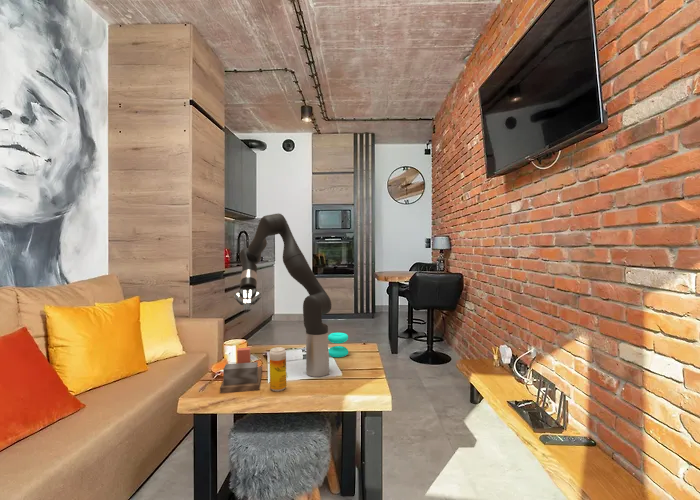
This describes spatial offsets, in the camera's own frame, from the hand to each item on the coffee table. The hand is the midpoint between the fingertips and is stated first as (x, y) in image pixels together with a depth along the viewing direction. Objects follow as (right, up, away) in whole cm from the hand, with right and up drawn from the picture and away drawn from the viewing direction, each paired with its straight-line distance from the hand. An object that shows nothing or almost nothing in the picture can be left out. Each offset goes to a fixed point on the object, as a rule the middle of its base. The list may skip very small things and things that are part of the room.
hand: (246, 311), depth 167 cm
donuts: (+41, -23, +12) cm, 49 cm away
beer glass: (+19, -25, -27) cm, 42 cm away
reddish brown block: (+3, -22, -14) cm, 26 cm away
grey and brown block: (+4, -25, -20) cm, 32 cm away
